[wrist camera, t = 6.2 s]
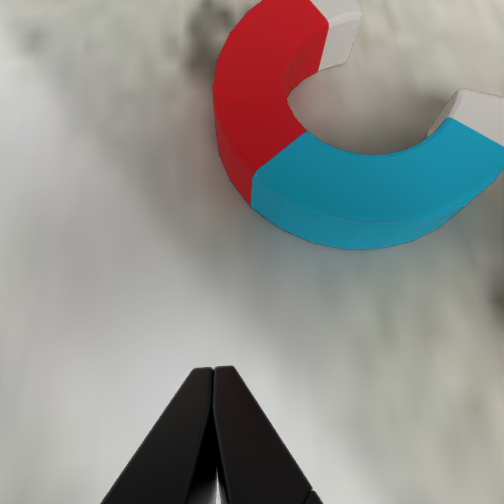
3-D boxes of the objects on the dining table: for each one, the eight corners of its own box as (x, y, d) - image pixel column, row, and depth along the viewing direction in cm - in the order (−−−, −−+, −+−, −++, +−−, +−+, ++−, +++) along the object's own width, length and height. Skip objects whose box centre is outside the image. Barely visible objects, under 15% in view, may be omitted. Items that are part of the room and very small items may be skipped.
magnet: (356, 314, 15) (508, 160, 18) (381, 296, 13) (555, 120, 15) (159, 119, 18) (316, 10, 20) (146, 72, 15) (327, -46, 18)
